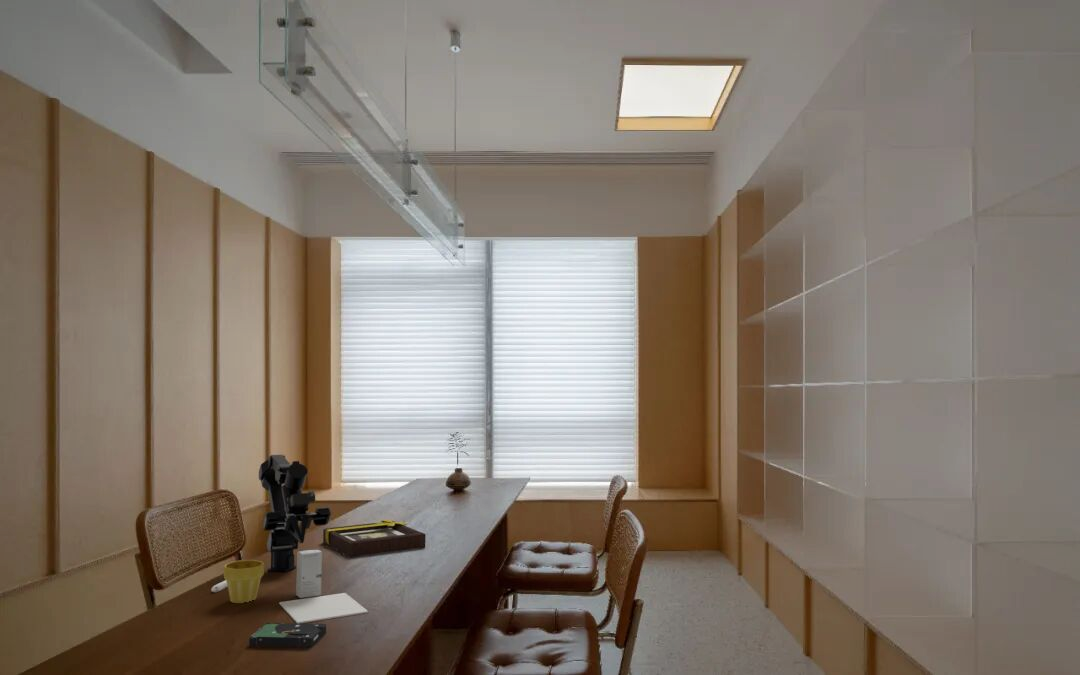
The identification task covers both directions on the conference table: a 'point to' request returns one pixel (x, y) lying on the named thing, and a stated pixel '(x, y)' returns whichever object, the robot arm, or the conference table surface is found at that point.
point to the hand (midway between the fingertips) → (302, 542)
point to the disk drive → (287, 635)
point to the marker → (219, 586)
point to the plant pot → (243, 579)
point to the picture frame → (373, 538)
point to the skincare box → (309, 573)
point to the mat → (322, 608)
